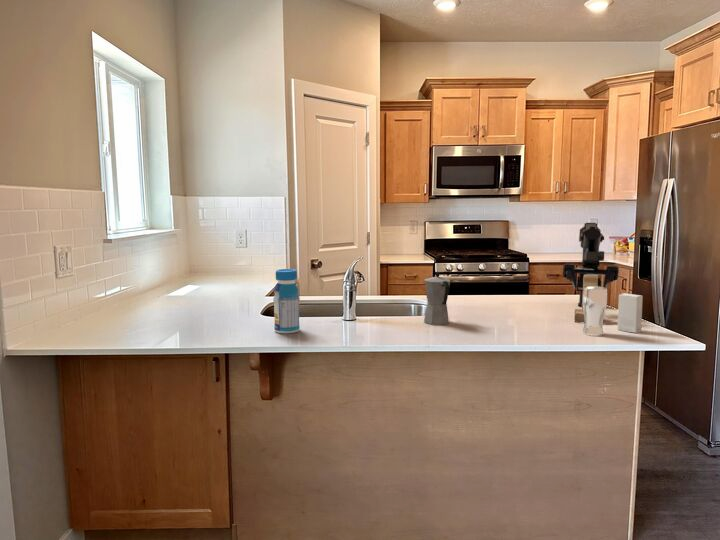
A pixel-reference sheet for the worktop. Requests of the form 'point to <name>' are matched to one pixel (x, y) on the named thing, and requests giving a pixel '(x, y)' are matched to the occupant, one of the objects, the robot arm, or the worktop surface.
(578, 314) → the square wooden tray
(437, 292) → the coffeepot
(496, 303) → the worktop surface
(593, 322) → the beer glass
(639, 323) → the skincare box
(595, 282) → the pillar block
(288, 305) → the beverage bottle
